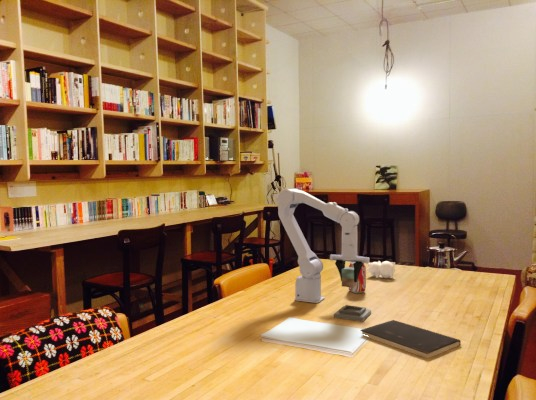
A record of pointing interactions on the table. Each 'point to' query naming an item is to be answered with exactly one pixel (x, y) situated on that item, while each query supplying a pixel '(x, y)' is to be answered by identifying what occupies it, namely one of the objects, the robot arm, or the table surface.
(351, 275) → the block stack
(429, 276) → the table surface
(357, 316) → the socket board
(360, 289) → the soda can
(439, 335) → the hardcover book
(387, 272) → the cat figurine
